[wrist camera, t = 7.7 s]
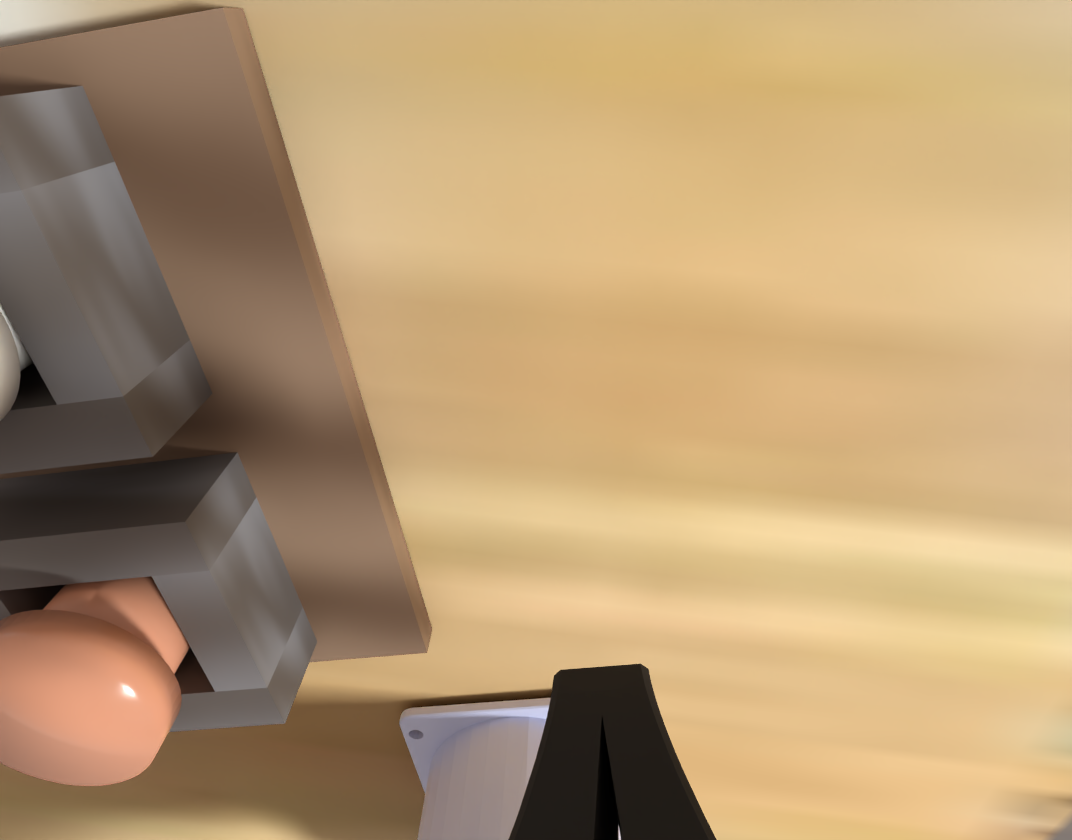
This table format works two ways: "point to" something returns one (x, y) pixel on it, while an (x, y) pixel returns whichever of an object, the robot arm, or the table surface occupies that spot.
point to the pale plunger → (10, 362)
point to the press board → (185, 369)
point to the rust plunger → (90, 682)
